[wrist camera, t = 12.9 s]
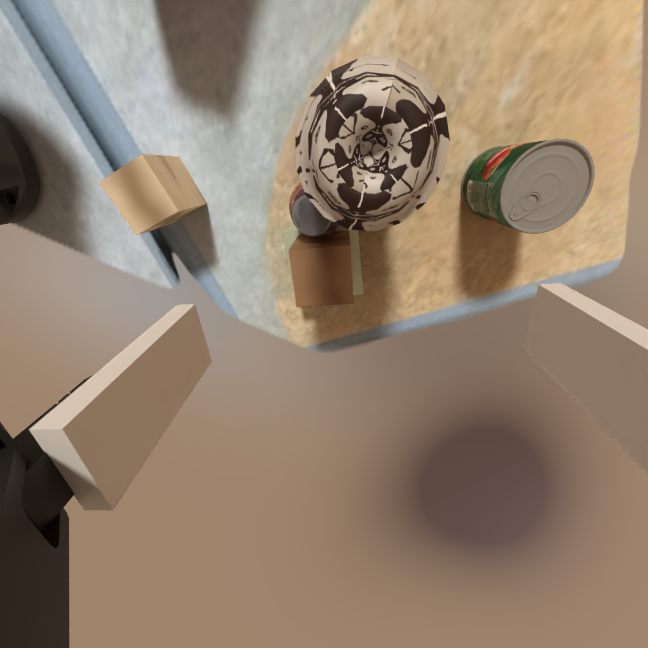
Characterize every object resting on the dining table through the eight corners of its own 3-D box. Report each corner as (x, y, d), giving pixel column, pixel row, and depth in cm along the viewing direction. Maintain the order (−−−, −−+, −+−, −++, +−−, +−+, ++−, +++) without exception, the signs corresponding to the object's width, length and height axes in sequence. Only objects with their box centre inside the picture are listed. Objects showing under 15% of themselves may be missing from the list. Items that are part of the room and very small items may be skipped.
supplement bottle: (312, 222, 41) (291, 252, 32) (299, 174, 38) (271, 191, 29) (357, 211, 39) (348, 239, 30) (346, 160, 37) (332, 174, 27)
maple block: (171, 223, 42) (136, 235, 35) (142, 179, 40) (98, 182, 33) (207, 203, 41) (178, 211, 34) (179, 156, 38) (141, 154, 31)
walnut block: (304, 282, 40) (296, 307, 33) (298, 234, 37) (288, 250, 30) (351, 278, 39) (353, 303, 32) (348, 230, 37) (350, 245, 29)
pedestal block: (300, 288, 46) (295, 301, 41) (288, 225, 42) (282, 232, 37) (361, 281, 45) (363, 294, 40) (356, 216, 41) (357, 222, 36)
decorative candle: (327, 104, 35) (298, -5, 13) (405, 127, 36) (507, 63, 13) (309, 189, 39) (263, 220, 17) (379, 209, 40) (424, 263, 17)
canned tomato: (504, 129, 35) (567, 114, 25) (541, 181, 37) (612, 186, 28) (447, 185, 38) (483, 191, 28) (484, 230, 40) (530, 250, 30)
